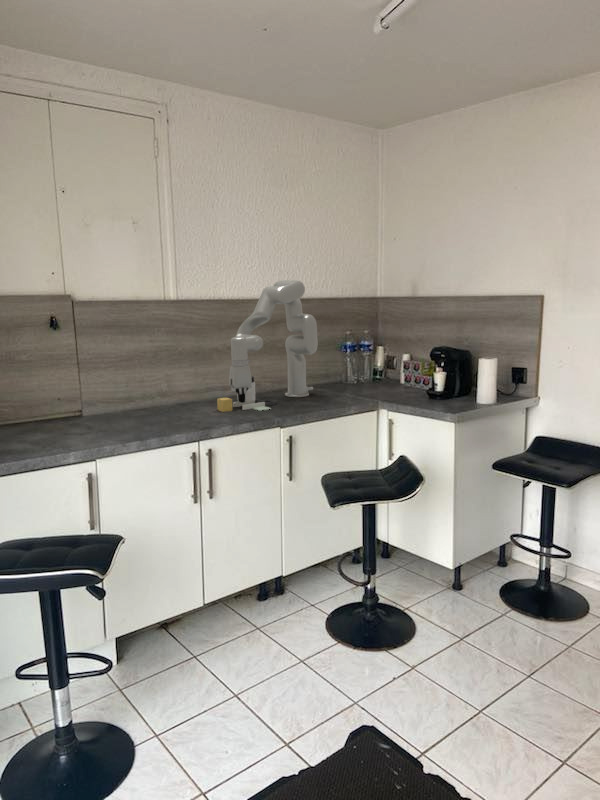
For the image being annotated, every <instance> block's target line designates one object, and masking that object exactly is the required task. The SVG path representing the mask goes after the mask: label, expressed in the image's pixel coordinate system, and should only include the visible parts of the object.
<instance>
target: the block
mask: <svg viewBox="0 0 600 800" xmlns="http://www.w3.org/2000/svg"><path fill="white" fill-rule="evenodd" d="M216 406H217V408H216V409H217V411H219V412H222V413H224V412H232V411H233V399H232V398H229V397H221V398H217V399H216Z"/></svg>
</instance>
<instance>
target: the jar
mask: <svg viewBox="0 0 600 800" xmlns="http://www.w3.org/2000/svg"><path fill="white" fill-rule="evenodd" d="M251 377H252V385H251V388H250V389H248V390H247V392H246V394H245V400H252V399H255V400H256V382H255V377H254V375H251ZM236 394H237V393H236ZM236 397H237V398H238V394H237V395H236ZM238 401H239V400H238V399H237V402H238Z"/></svg>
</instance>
